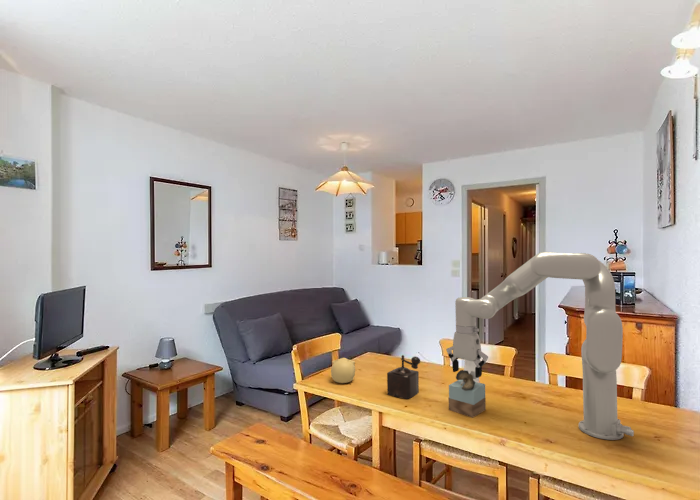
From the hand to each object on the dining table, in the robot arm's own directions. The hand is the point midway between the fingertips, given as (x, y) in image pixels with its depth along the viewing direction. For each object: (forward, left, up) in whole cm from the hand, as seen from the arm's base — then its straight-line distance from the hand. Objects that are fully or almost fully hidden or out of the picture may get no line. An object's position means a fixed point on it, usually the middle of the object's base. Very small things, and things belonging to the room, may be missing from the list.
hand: (466, 374), depth 146 cm
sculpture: (+59, +12, -14) cm, 62 cm away
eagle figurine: (-1, +2, -4) cm, 5 cm away
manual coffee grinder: (+26, +4, -14) cm, 30 cm away
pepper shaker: (+11, -22, -14) cm, 28 cm away
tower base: (0, 0, -14) cm, 14 cm away
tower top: (0, 0, -9) cm, 9 cm away
